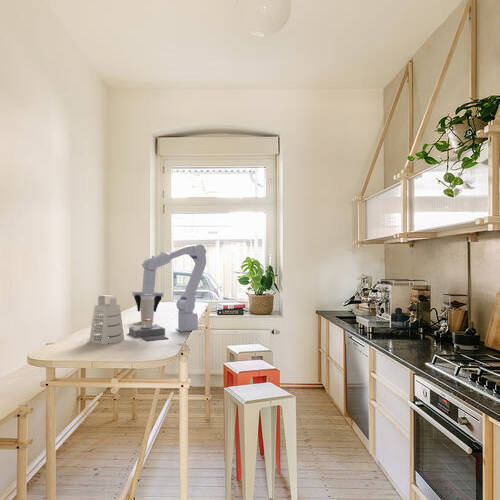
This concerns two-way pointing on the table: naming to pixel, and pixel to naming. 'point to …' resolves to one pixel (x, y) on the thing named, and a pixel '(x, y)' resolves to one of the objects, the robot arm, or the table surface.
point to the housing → (146, 331)
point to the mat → (154, 337)
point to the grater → (107, 322)
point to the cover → (146, 323)
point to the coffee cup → (147, 307)
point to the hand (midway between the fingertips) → (146, 311)
